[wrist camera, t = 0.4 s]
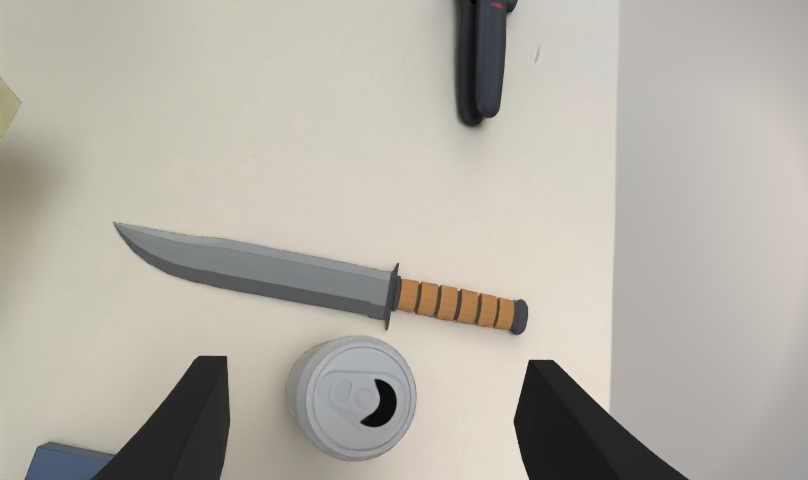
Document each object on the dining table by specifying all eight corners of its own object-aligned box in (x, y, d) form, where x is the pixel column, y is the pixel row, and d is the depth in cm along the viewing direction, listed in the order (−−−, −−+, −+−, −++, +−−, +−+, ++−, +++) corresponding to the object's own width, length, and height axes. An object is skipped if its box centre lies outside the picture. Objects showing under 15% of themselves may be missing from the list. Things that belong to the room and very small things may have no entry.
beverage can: (358, 449, 40) (401, 483, 29) (269, 419, 39) (278, 442, 28) (388, 360, 42) (439, 359, 31) (304, 329, 41) (326, 316, 30)
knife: (94, 277, 38) (114, 203, 39) (99, 279, 39) (119, 207, 40) (525, 354, 43) (533, 288, 44) (518, 354, 45) (526, 290, 46)
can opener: (440, -65, 51) (462, -115, 45) (514, -46, 52) (544, -92, 47) (427, 123, 47) (450, 92, 41) (507, 138, 48) (539, 110, 43)
